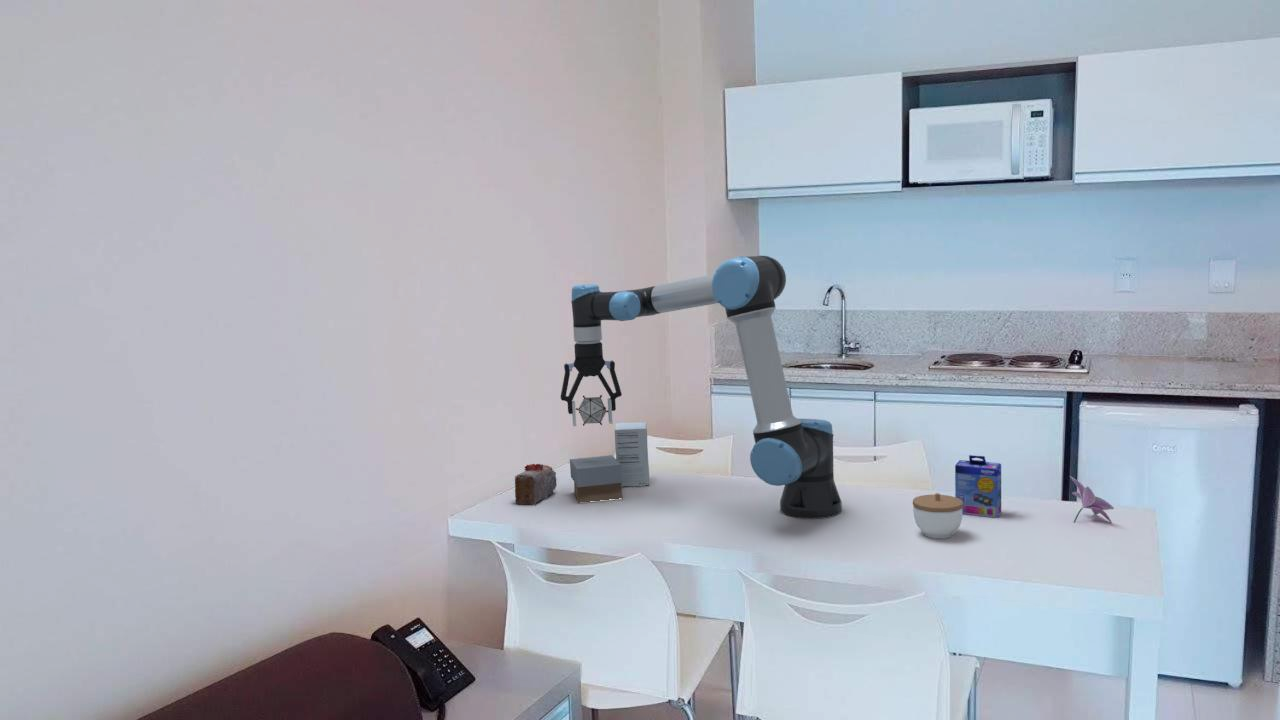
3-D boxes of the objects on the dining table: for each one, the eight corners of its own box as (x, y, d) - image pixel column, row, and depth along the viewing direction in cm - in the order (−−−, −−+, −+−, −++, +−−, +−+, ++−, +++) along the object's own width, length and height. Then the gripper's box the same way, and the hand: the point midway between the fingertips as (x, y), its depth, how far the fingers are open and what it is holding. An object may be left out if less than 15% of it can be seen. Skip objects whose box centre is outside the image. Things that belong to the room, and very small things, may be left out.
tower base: (622, 500, 246) (621, 482, 245) (578, 504, 244) (577, 486, 244) (617, 489, 258) (616, 472, 257) (574, 493, 256) (573, 475, 255)
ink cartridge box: (954, 514, 219) (953, 455, 217) (959, 507, 224) (958, 450, 222) (997, 518, 214) (997, 458, 212) (1001, 512, 219) (1001, 453, 217)
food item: (533, 491, 259) (531, 457, 258) (559, 492, 257) (557, 458, 255) (512, 505, 246) (510, 469, 245) (540, 506, 244) (537, 470, 242)
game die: (599, 436, 250) (617, 405, 251) (594, 431, 242) (613, 399, 243) (571, 420, 252) (590, 389, 253) (566, 415, 244) (585, 383, 245)
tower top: (621, 482, 246) (620, 464, 245) (577, 487, 243) (576, 469, 242) (612, 472, 257) (611, 455, 256) (570, 476, 254) (569, 459, 254)
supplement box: (618, 479, 268) (615, 422, 266) (649, 477, 268) (646, 421, 265) (617, 487, 258) (613, 429, 256) (649, 486, 258) (646, 427, 256)
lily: (1113, 536, 201) (1129, 496, 202) (1059, 513, 204) (1075, 474, 205) (1099, 535, 213) (1114, 498, 213) (1048, 514, 216) (1063, 477, 217)
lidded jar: (909, 527, 211) (908, 487, 210) (957, 526, 209) (956, 486, 208) (918, 542, 200) (917, 500, 199) (968, 541, 199) (968, 500, 198)
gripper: (626, 338, 250) (630, 418, 253) (546, 343, 248) (551, 424, 250) (630, 340, 243) (634, 423, 246) (547, 345, 240) (553, 429, 243)
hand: (592, 423), depth 248 cm, fingers closed on game die, 9 cm apart
